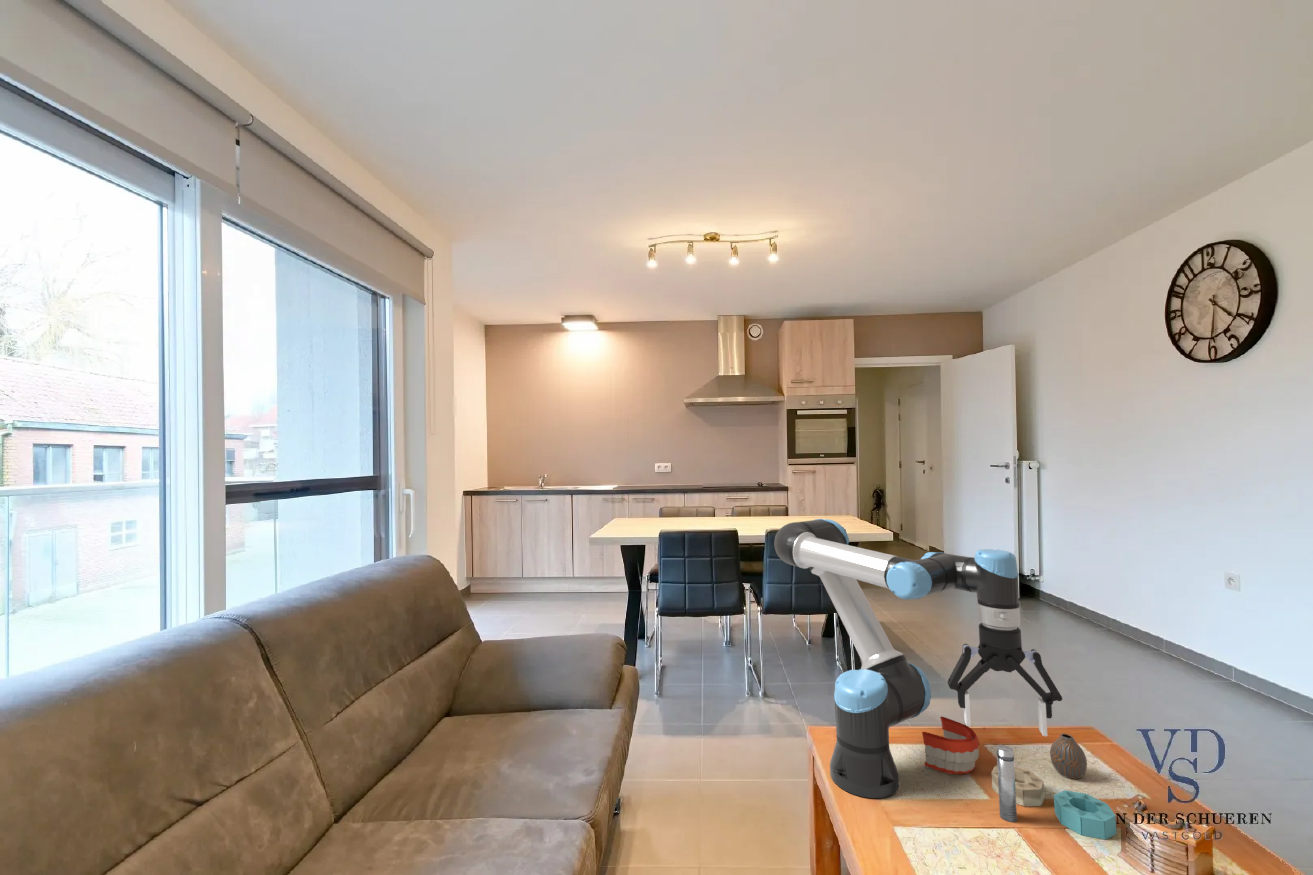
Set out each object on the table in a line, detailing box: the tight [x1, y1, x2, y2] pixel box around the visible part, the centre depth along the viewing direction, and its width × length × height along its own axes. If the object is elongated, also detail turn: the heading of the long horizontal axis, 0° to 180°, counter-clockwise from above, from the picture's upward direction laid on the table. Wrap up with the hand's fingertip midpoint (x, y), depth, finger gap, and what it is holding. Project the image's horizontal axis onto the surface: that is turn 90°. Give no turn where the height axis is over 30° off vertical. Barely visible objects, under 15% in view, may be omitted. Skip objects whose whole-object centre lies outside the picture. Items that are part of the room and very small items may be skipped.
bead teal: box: [1053, 789, 1117, 841], centre depth 110 cm, size 9×9×4 cm
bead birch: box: [991, 765, 1045, 807], centre depth 120 cm, size 9×9×4 cm
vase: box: [1049, 733, 1088, 780], centre depth 127 cm, size 7×7×9 cm
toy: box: [921, 716, 980, 775], centre depth 132 cm, size 12×10×8 cm
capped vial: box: [996, 744, 1018, 823], centre depth 113 cm, size 3×3×14 cm
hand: (1004, 728), depth 113 cm, fingers open, 13 cm apart
